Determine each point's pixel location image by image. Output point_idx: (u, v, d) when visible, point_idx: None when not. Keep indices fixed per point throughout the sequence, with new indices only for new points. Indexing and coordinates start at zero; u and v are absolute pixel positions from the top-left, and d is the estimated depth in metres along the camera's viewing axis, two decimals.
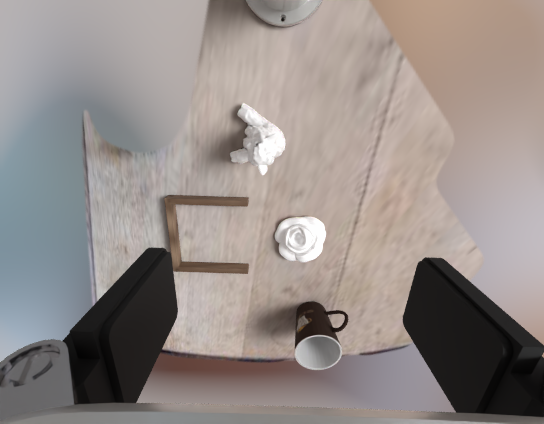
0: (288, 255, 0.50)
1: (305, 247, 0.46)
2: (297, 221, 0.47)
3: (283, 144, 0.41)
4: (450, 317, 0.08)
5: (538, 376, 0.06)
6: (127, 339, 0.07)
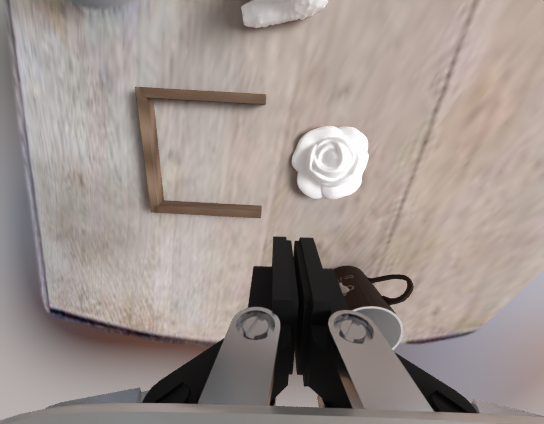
0: (311, 189, 0.33)
1: (340, 170, 0.30)
2: (328, 131, 0.31)
3: None
4: (297, 285, 0.09)
5: None
6: None
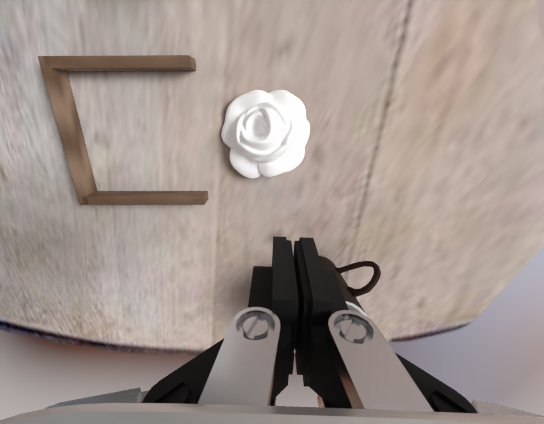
0: (246, 167, 0.29)
1: (270, 140, 0.25)
2: (256, 97, 0.26)
3: None
4: (297, 285, 0.09)
5: None
6: None
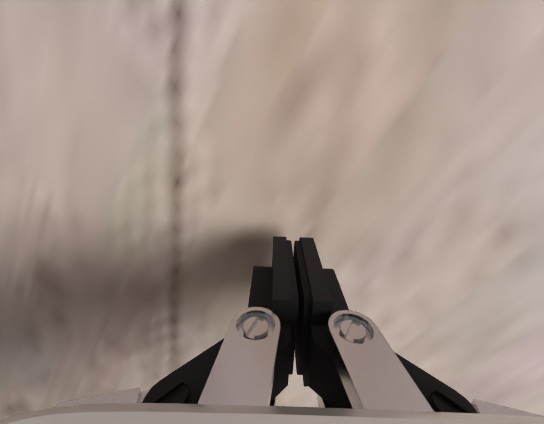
0: None
1: None
2: None
3: None
4: (297, 285, 0.09)
5: None
6: None
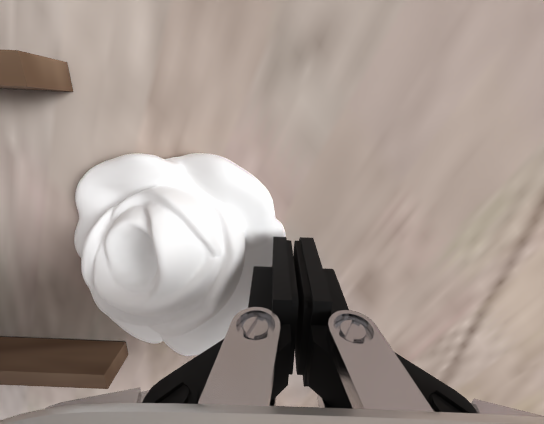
0: None
1: (164, 305, 0.09)
2: (137, 172, 0.10)
3: None
4: (297, 285, 0.09)
5: None
6: None
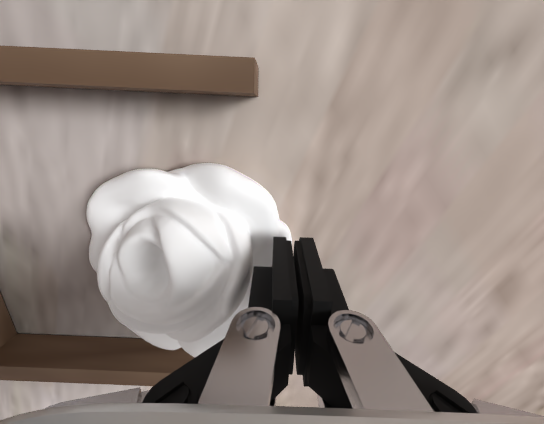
0: None
1: (178, 313, 0.09)
2: (142, 186, 0.10)
3: None
4: (297, 285, 0.09)
5: None
6: None
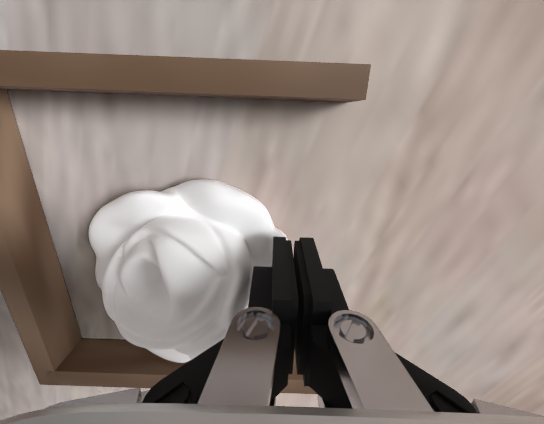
0: None
1: (181, 329, 0.09)
2: (137, 208, 0.10)
3: None
4: (297, 285, 0.09)
5: None
6: None
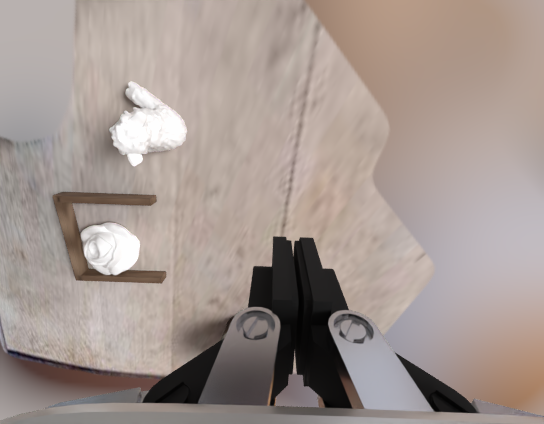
0: (101, 269, 0.44)
1: (101, 258, 0.40)
2: (92, 229, 0.41)
3: (180, 131, 0.34)
4: (297, 285, 0.09)
5: None
6: None
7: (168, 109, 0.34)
